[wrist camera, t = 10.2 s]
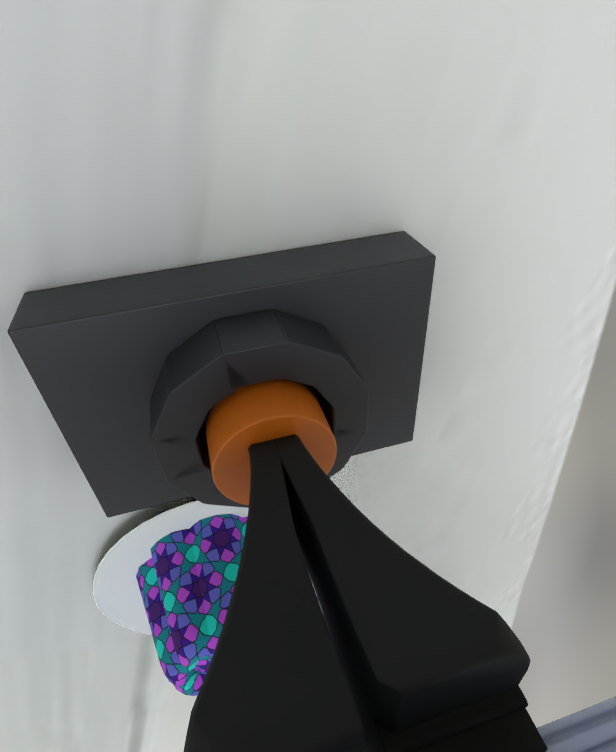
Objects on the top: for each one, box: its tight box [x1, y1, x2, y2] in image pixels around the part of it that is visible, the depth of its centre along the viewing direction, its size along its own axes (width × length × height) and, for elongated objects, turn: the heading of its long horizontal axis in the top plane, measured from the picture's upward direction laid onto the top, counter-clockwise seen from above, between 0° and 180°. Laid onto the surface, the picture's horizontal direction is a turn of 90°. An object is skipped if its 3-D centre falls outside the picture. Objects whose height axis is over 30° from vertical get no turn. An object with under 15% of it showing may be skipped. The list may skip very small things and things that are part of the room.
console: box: [8, 232, 436, 517], centre depth 15 cm, size 12×8×4 cm, turn 93°
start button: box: [206, 379, 337, 505], centre depth 14 cm, size 4×4×2 cm
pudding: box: [92, 501, 313, 696], centre depth 22 cm, size 12×12×5 cm
